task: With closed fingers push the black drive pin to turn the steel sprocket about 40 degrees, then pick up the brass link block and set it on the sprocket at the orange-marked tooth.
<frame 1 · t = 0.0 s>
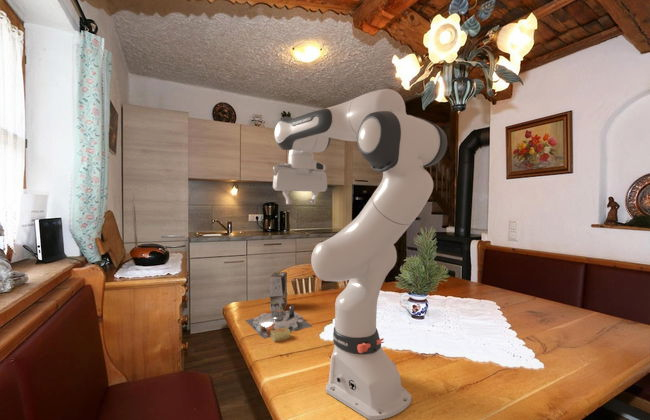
hand: (300, 204, 106), 48 cm above the table, fingers open, 8 cm apart
base plate: (278, 325, 119), on the table
coffee box: (278, 309, 137), on the table
sprocket: (278, 316, 119), point 4 cm above the table, hinge at 0.0°
brass link: (280, 341, 105), on the table
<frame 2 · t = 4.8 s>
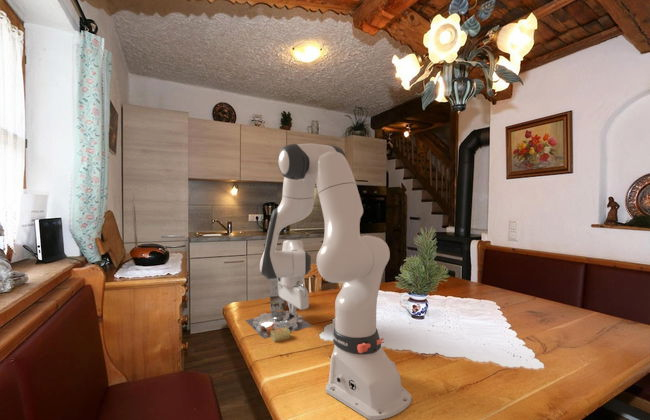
hand: (292, 314, 120), 4 cm above the table, fingers closed
sprocket: (278, 316, 119), point 4 cm above the table, hinge at 0.0°, touching base plate, gripper
everything else where it was.
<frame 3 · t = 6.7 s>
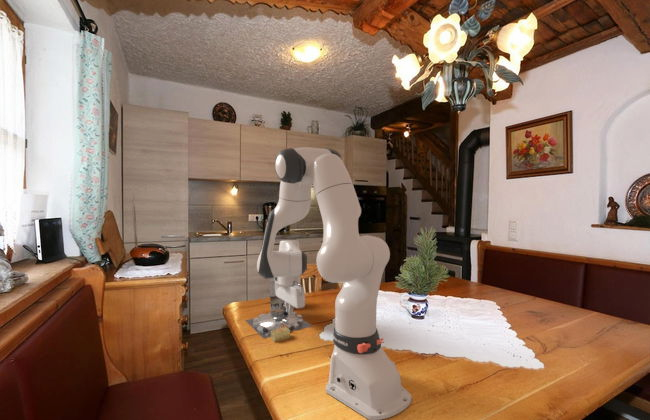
hand: (289, 313, 122), 4 cm above the table, fingers closed
sprocket: (278, 316, 119), point 4 cm above the table, hinge at 34.6°
everything else where it was.
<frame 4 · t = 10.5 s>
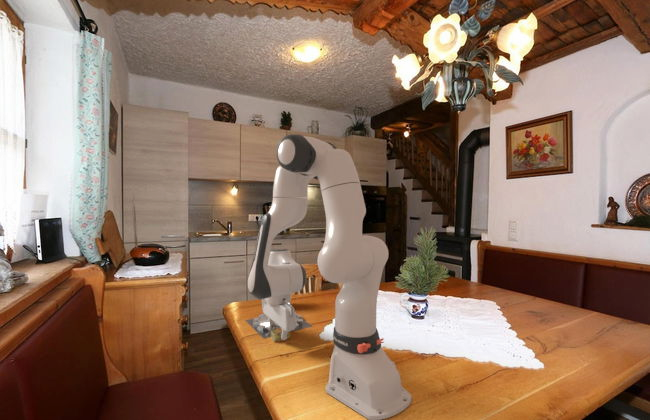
hand: (277, 334, 105), 2 cm above the table, fingers open, 7 cm apart
sprocket: (278, 316, 119), point 4 cm above the table, hinge at 34.7°, touching gripper
everything else where it was.
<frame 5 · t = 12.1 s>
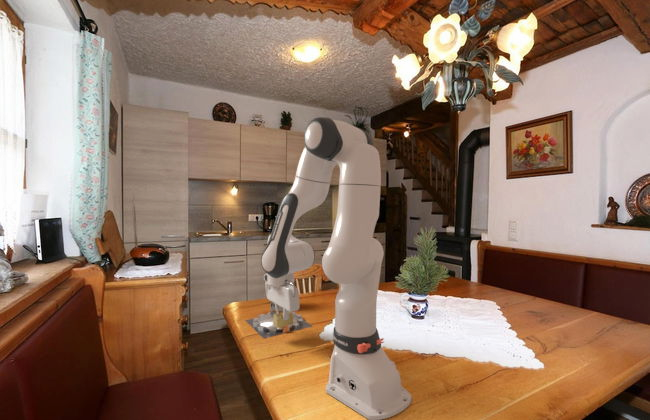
hand: (282, 317, 104), 8 cm above the table, fingers closed on brass link, 3 cm apart
sprocket: (278, 316, 119), point 4 cm above the table, hinge at 36.9°
brass link: (283, 324, 104), point 6 cm above the table, touching gripper
everything else where it was.
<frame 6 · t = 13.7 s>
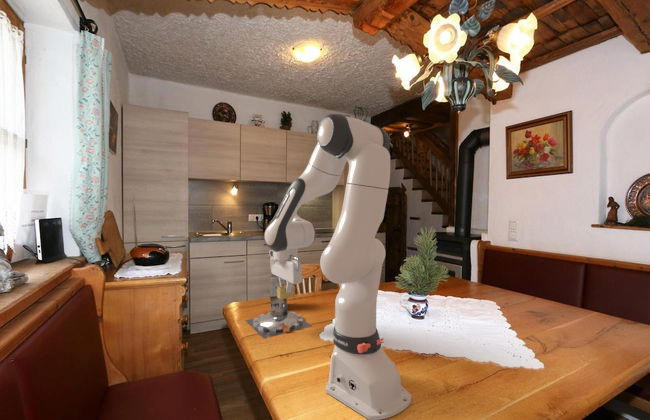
hand: (285, 290, 113), 16 cm above the table, fingers closed on brass link, 3 cm apart
brass link: (285, 297, 113), point 13 cm above the table, touching gripper
everything else where it was.
when the fingers open (5 cm above the table, at t = 15.8 s): brass link stays where it is, resting on sprocket.
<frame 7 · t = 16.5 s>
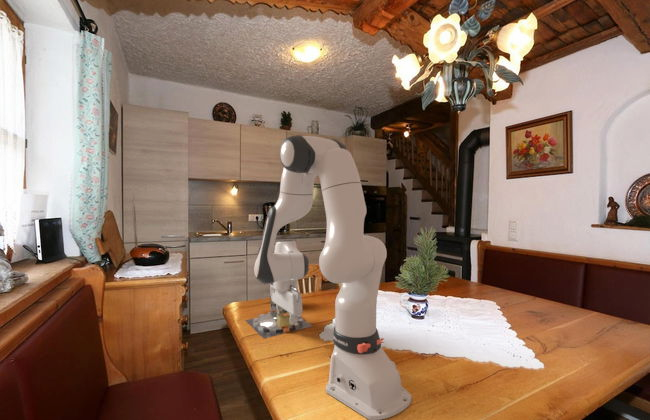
hand: (285, 319, 113), 5 cm above the table, fingers open, 8 cm apart
sprocket: (278, 316, 119), point 4 cm above the table, hinge at 36.9°, touching base plate, brass link
brass link: (285, 324, 113), point 3 cm above the table, touching sprocket
everything else where it was.
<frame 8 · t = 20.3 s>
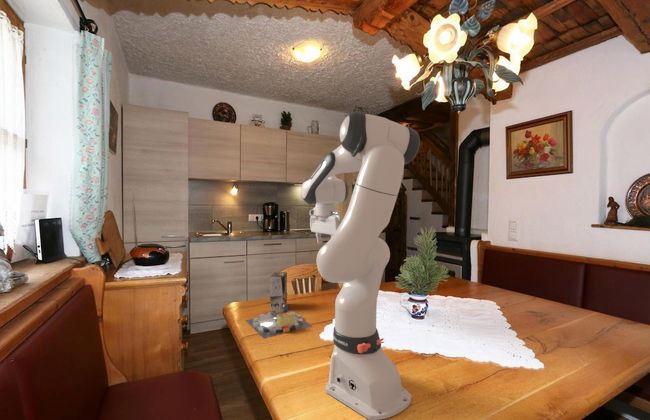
hand: (326, 244, 126), 31 cm above the table, fingers open, 8 cm apart
sprocket: (278, 316, 119), point 4 cm above the table, hinge at 36.9°, touching brass link
everything else where it was.
at the end: sprocket at +37° (first picture: +0°); brass link inside the target area (0.1 cm from its centre), point 2.6 cm above the table; brass link tilted 2° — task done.
